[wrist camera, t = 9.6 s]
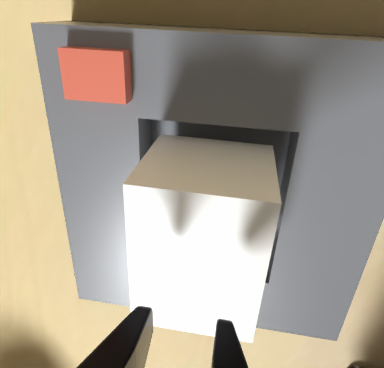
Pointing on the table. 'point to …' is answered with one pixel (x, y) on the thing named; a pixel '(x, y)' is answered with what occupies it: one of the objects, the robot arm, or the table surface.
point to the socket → (227, 131)
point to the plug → (201, 232)
